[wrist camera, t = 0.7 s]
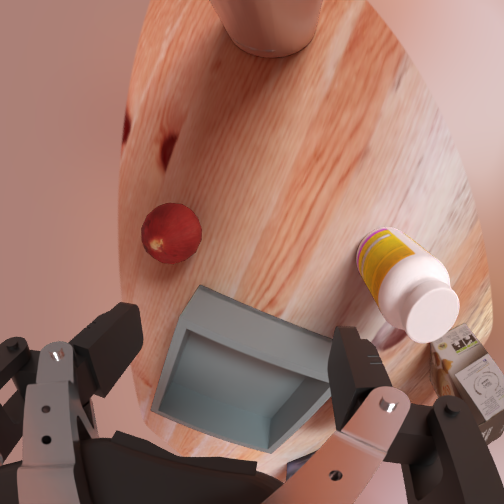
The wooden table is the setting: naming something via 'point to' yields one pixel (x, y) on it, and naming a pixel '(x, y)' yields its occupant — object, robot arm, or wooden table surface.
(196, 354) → the tote
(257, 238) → the wooden table surface
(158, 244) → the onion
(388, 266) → the supplement bottle
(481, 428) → the coffee box
